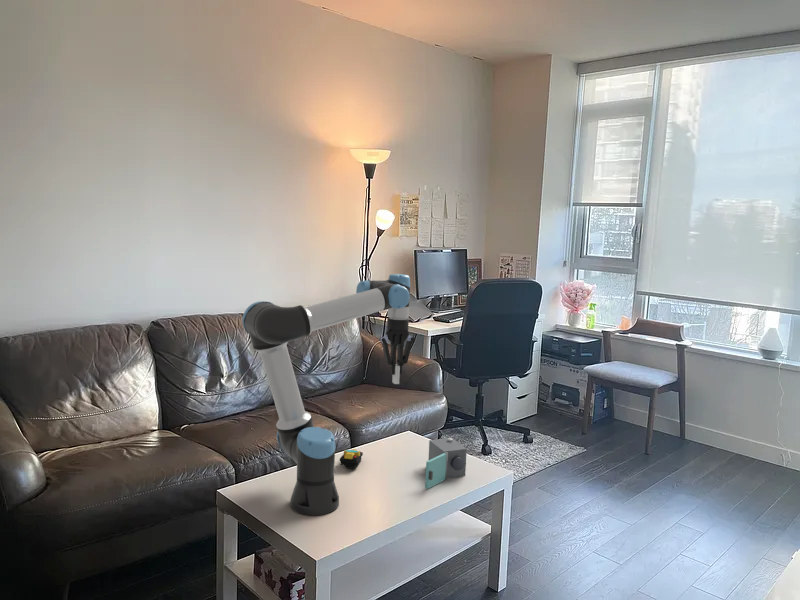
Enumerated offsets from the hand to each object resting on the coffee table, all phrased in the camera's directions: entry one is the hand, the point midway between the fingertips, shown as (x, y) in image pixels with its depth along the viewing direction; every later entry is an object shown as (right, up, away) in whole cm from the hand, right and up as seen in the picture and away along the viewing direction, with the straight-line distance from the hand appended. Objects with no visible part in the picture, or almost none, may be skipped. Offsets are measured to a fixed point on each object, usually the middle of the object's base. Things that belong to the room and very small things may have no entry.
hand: (395, 383), depth 217 cm
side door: (+15, -34, -7) cm, 38 cm away
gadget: (-16, -31, +8) cm, 36 cm away
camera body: (+19, -33, +5) cm, 38 cm away
